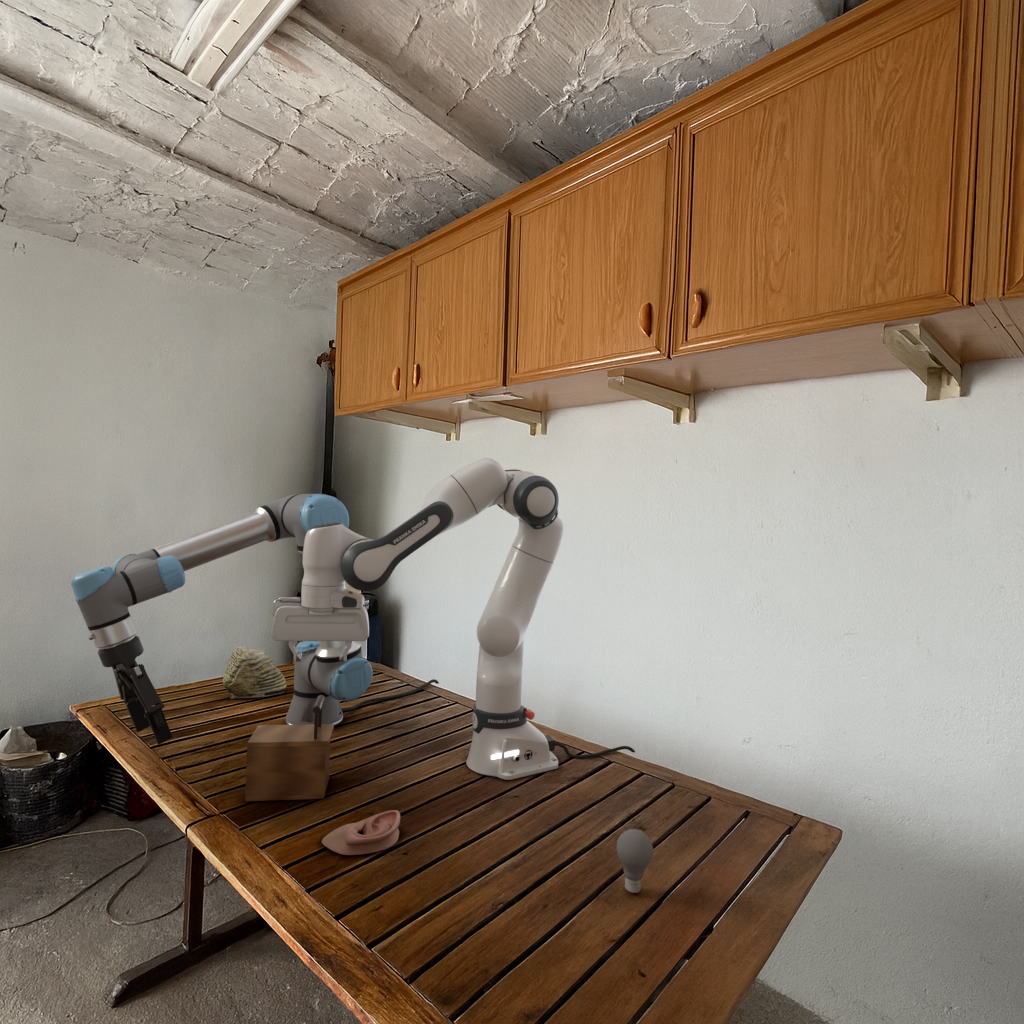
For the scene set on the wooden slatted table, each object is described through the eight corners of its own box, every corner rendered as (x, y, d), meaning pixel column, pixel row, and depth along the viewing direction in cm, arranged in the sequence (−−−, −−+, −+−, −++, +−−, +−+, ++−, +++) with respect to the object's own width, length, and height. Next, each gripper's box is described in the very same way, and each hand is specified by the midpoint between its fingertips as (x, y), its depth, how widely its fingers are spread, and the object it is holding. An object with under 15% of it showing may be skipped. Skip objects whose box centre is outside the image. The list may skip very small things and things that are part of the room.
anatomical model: (313, 828, 113) (343, 799, 125) (313, 850, 113) (342, 819, 125) (383, 839, 111) (407, 808, 122) (382, 862, 111) (406, 829, 122)
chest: (329, 777, 143) (331, 729, 143) (323, 798, 133) (325, 746, 133) (256, 779, 140) (258, 730, 140) (245, 801, 130) (247, 748, 130)
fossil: (218, 695, 195) (220, 647, 195) (278, 685, 208) (279, 640, 207) (228, 703, 189) (230, 653, 188) (289, 692, 201) (290, 645, 201)
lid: (333, 728, 143) (335, 693, 143) (328, 746, 133) (330, 707, 133) (258, 730, 140) (259, 693, 140) (247, 747, 130) (248, 708, 130)
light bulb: (610, 879, 108) (613, 822, 108) (644, 879, 109) (647, 822, 109) (619, 902, 102) (622, 840, 102) (655, 901, 103) (658, 840, 103)
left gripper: (81, 644, 135) (117, 733, 139) (115, 656, 118) (155, 757, 121) (119, 629, 140) (153, 715, 144) (157, 638, 123) (194, 735, 127)
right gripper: (269, 599, 132) (266, 665, 132) (369, 600, 135) (367, 664, 136) (275, 594, 138) (272, 657, 138) (371, 595, 142) (368, 657, 142)
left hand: (154, 734), depth 133 cm, fingers open, 13 cm apart
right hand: (320, 661), depth 137 cm, fingers open, 8 cm apart
